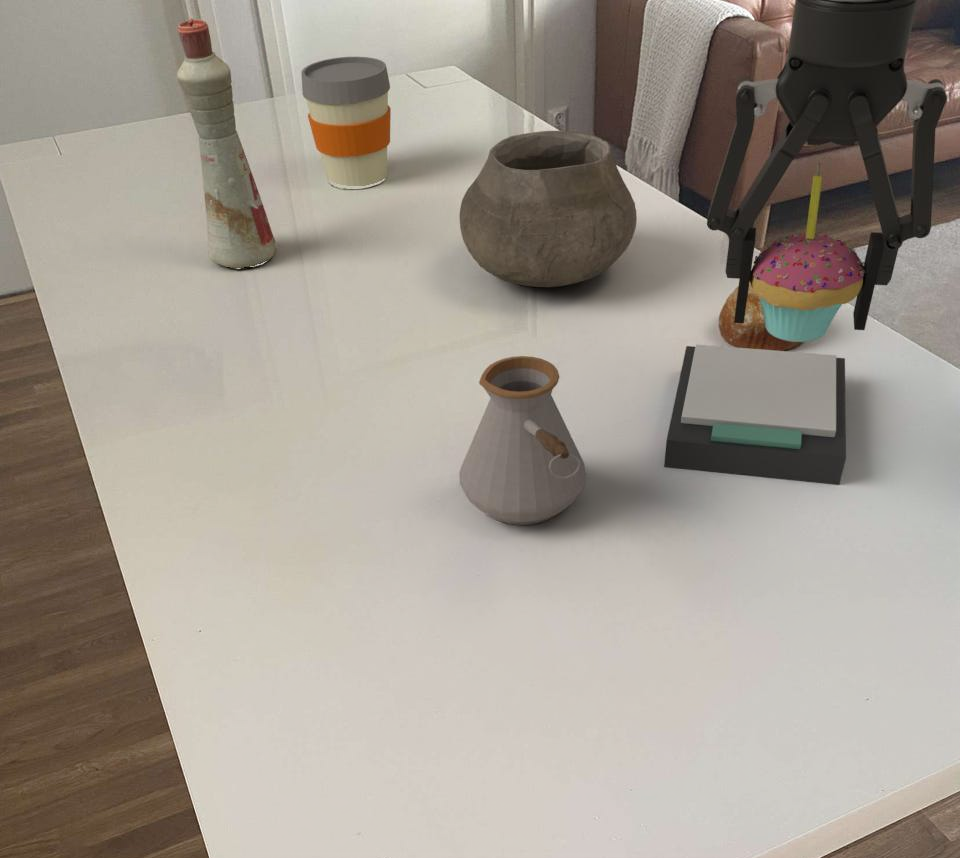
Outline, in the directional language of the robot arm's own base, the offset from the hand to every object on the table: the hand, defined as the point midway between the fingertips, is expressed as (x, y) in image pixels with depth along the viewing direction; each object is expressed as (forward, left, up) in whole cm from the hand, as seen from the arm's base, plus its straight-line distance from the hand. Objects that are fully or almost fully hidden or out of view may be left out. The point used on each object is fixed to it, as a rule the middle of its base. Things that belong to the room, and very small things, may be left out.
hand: (798, 318), depth 80 cm
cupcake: (0, 0, -1) cm, 1 cm away
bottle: (+70, -40, -17) cm, 82 cm away
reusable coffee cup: (+64, -69, -17) cm, 96 cm away
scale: (+2, -11, -17) cm, 21 cm away
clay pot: (+29, -41, -17) cm, 53 cm away
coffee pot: (+20, +10, -17) cm, 28 cm away
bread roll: (+2, -30, -17) cm, 35 cm away
